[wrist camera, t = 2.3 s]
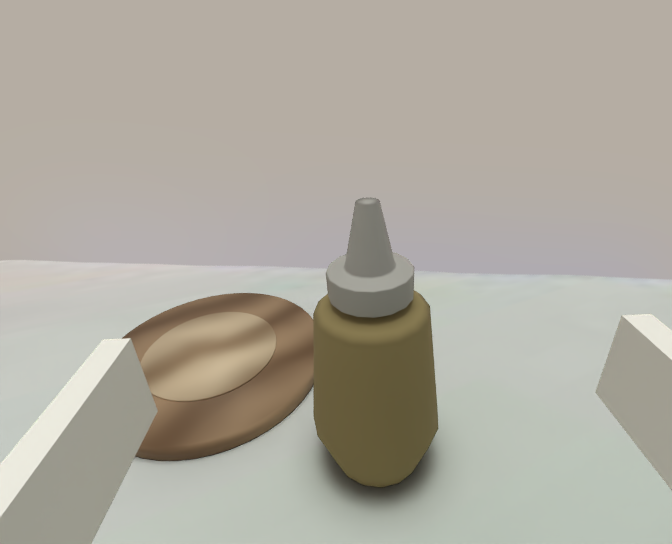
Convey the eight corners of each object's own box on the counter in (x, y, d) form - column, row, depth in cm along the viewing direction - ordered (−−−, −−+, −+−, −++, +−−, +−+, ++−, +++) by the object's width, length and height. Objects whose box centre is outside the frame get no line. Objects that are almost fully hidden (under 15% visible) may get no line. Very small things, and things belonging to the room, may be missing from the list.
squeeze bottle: (444, 419, 30) (464, 180, 21) (423, 526, 23) (439, 244, 14) (343, 394, 32) (323, 175, 24) (299, 483, 26) (250, 226, 17)
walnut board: (366, 354, 36) (365, 340, 36) (152, 521, 24) (144, 504, 24) (244, 286, 49) (241, 274, 48) (65, 372, 37) (57, 358, 37)
